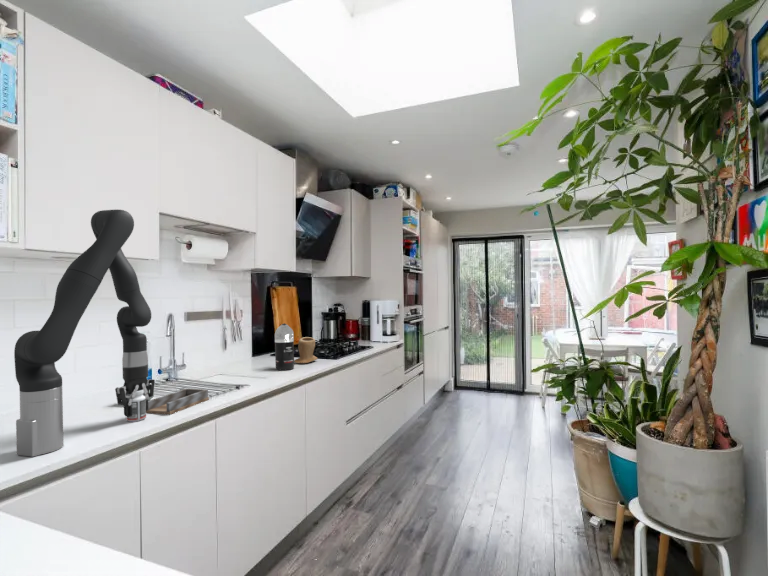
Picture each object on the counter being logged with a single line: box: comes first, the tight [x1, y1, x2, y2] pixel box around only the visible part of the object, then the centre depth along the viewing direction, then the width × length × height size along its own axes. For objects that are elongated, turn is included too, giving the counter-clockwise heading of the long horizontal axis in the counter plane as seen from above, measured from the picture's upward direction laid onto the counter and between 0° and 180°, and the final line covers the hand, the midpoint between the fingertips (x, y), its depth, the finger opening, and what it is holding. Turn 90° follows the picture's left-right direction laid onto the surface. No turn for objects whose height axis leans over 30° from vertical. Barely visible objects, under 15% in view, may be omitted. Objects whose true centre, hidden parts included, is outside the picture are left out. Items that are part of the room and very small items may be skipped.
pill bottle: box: [126, 390, 147, 423], centre depth 142 cm, size 6×6×10 cm
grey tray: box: [146, 388, 210, 415], centre depth 157 cm, size 20×11×4 cm, turn 164°
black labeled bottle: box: [274, 323, 295, 371], centre depth 227 cm, size 10×10×25 cm
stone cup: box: [294, 336, 319, 364], centre depth 246 cm, size 15×12×15 cm
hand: (136, 413), depth 142 cm, fingers closed on pill bottle, 5 cm apart
